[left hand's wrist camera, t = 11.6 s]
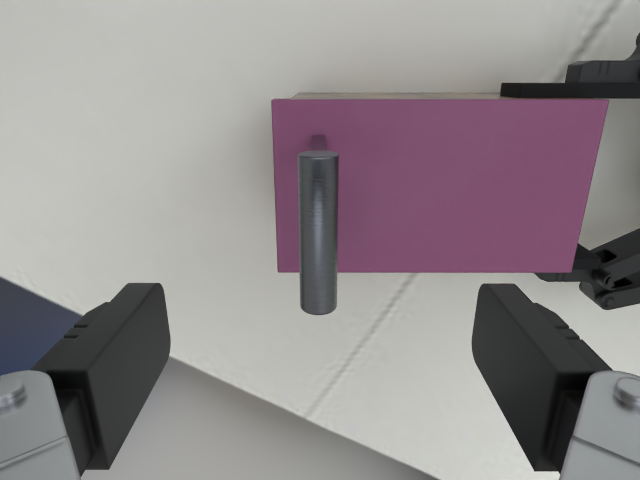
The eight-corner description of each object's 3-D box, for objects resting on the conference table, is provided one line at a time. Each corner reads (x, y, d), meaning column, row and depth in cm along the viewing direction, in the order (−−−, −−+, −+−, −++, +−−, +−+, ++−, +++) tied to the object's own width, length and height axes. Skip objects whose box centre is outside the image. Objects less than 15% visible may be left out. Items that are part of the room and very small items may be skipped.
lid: (279, 265, 26) (261, 348, 18) (273, 98, 23) (247, 110, 15) (562, 265, 26) (669, 349, 18) (597, 98, 22) (747, 110, 15)
